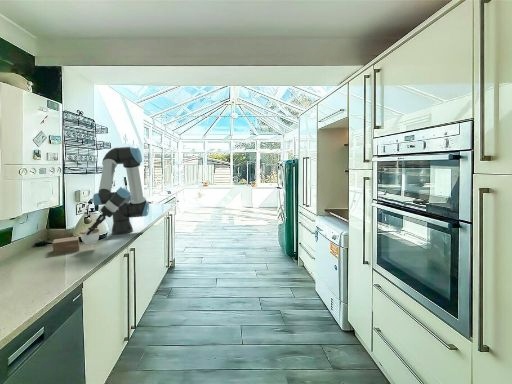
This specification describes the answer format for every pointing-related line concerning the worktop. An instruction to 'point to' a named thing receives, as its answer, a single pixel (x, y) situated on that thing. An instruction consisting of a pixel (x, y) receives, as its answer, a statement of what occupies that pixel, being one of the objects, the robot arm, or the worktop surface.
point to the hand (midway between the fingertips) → (85, 236)
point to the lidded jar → (92, 238)
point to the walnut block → (66, 245)
